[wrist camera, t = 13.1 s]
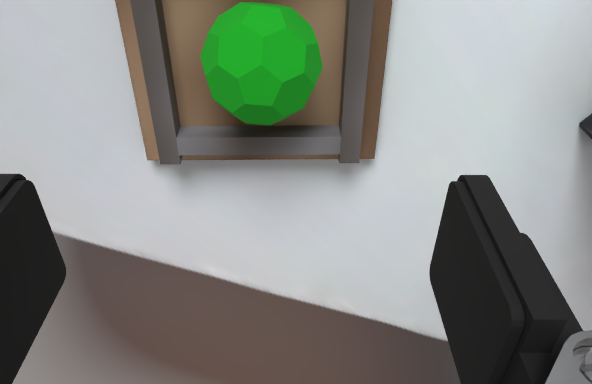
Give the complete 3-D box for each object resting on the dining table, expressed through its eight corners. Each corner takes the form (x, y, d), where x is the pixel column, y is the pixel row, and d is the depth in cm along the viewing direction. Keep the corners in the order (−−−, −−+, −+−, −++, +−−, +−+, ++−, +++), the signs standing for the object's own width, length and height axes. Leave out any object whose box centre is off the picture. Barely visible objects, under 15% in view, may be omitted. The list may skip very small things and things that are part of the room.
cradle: (399, -107, 20) (410, -102, 18) (372, 151, 27) (377, 170, 25) (100, -108, 20) (83, -103, 18) (150, 152, 26) (141, 172, 25)
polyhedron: (187, 49, 22) (167, 92, 19) (255, -38, 20) (248, -11, 16) (271, 114, 24) (268, 165, 21) (340, 41, 22) (352, 82, 18)
